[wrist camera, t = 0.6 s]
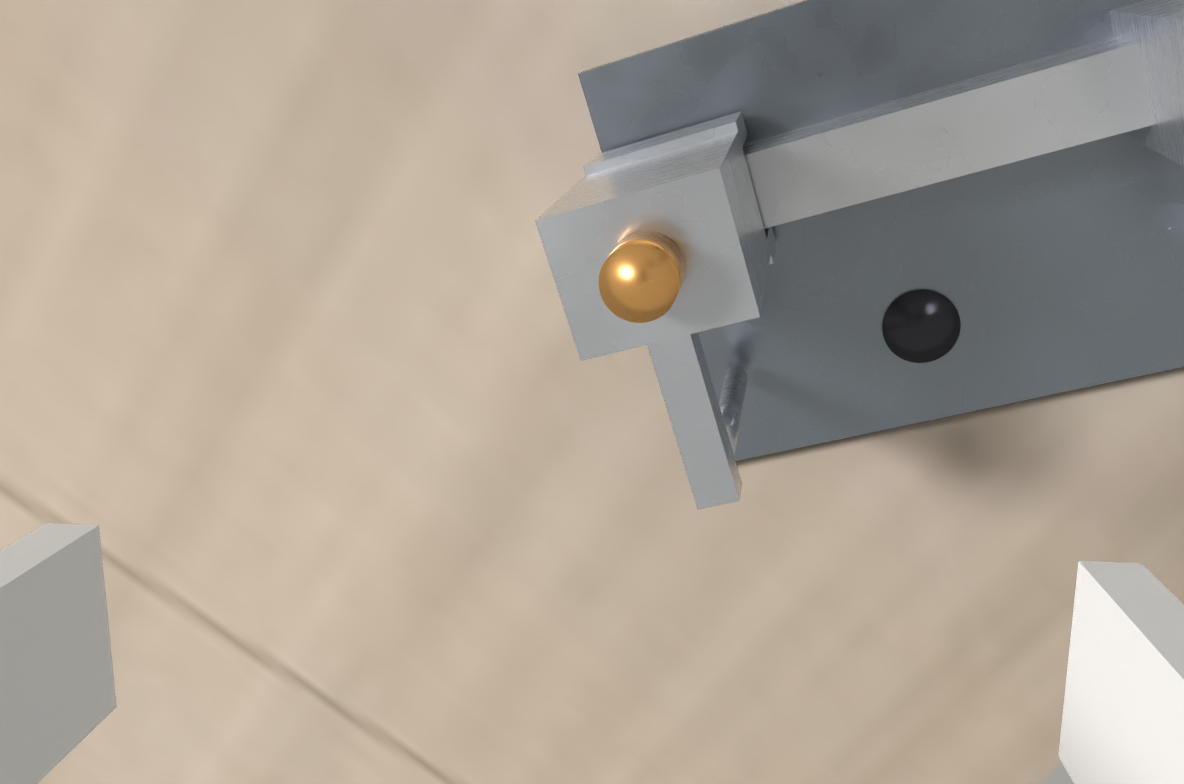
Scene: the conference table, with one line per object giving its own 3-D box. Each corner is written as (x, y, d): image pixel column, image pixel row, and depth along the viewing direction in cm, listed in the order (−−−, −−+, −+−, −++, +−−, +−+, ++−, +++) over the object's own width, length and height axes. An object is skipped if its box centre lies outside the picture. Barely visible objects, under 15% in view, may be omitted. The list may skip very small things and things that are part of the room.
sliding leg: (741, 111, 37) (710, 167, 27) (809, 370, 40) (806, 513, 29) (599, 153, 39) (516, 222, 28) (674, 401, 41) (624, 549, 31)
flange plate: (1282, -153, 33) (1341, -168, 30) (1339, 322, 37) (1396, 360, 34) (583, 71, 39) (559, 81, 36) (700, 458, 43) (689, 503, 40)
